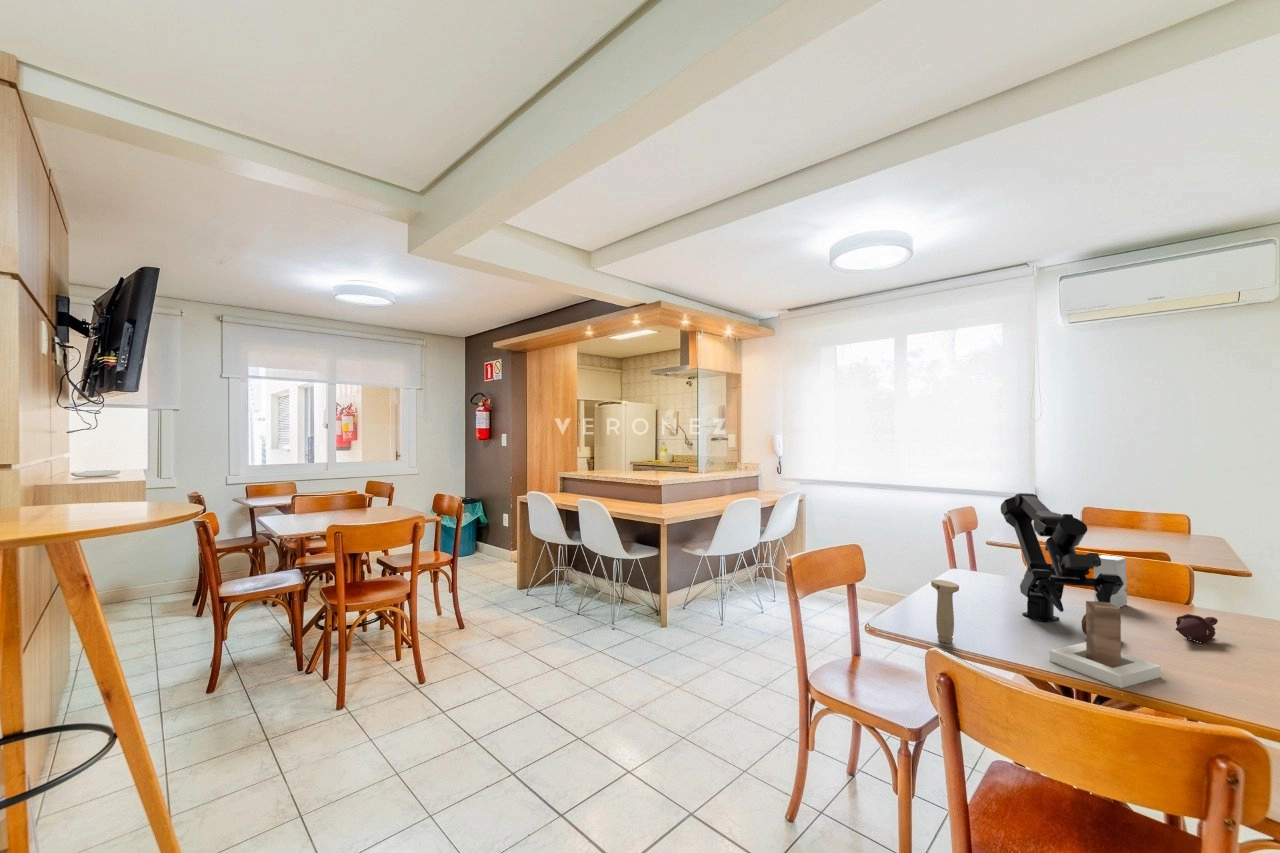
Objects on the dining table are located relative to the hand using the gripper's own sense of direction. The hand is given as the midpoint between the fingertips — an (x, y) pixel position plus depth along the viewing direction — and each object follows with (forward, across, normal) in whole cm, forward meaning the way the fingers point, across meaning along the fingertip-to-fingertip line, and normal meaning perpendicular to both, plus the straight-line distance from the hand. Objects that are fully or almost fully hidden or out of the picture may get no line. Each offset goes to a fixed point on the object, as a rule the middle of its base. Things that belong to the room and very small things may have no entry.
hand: (1084, 613), depth 128 cm
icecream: (-5, +31, +20) cm, 37 cm away
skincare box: (-25, +25, +40) cm, 53 cm away
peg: (+12, 0, 0) cm, 13 cm away
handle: (+8, -31, +6) cm, 32 cm away
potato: (-2, +8, +16) cm, 18 cm away
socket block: (+13, 0, +1) cm, 13 cm away
